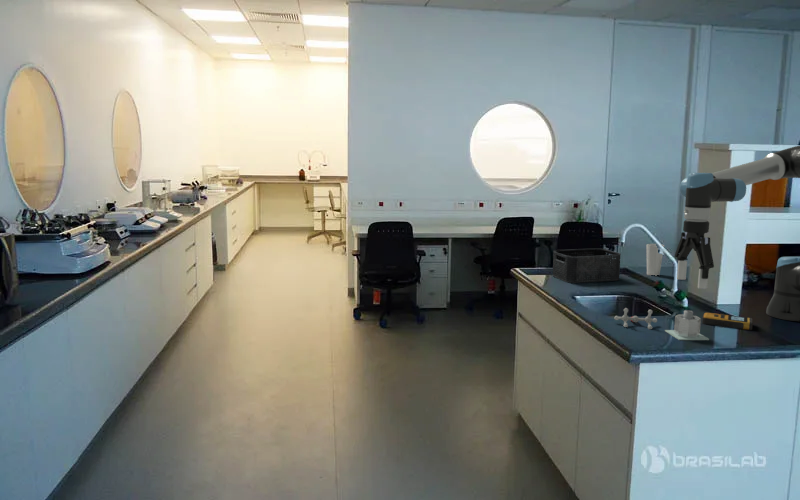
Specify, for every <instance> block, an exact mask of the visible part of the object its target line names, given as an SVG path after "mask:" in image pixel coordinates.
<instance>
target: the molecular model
mask: <svg viewBox="0 0 800 500" xmlns="http://www.w3.org/2000/svg"><path fill="white" fill-rule="evenodd" d="M623 312H624V313H623V315H622V316H619V315H615V316H614V318H613V319H614V321H618V320H622V322H623V324H622V325H623V326H624V327H627V328H628V327H629V325H628V321H630V322H631V321H632V322H631V323H638V322H639V321H640V322H646V324H647V329H648V330H652V329H653V326H652V324H651V323H652V322H653V323H657V322H658V319H657V318H655V317H653V318H652V317H651V316H652V314H653V310H652V309H648V311H647V316H646V317H645V318H644V317H639V316H637V315H633V316H630V317H629V315H628V313H629V308H627V307H625V308H624V309H623ZM623 326H622V327H623ZM624 327H623V328H624Z"/></svg>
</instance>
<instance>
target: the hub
mask: <svg viewBox="0 0 800 500" xmlns="http://www.w3.org/2000/svg"><path fill="white" fill-rule="evenodd" d="M683 316H684V313H679V314H677V315H675V317H674V328H673V330H674V333H675V334H676V335H678V336H682V337H687V338H697V337H698V336H699V335H700V334H701V324H702V318H701V317H699V316H697V315H693V319H686V318H683Z"/></svg>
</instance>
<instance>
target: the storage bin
mask: <svg viewBox="0 0 800 500" xmlns="http://www.w3.org/2000/svg"><path fill="white" fill-rule="evenodd" d="M552 256H553V259H552V260H553V263H552V277H554V278H556V279H559V280H561V281H563V282H566V283H569V284H579V283H583V284H584V283H601V282H602V283H603V282H616V281H620V274H621V273H620V272H621V271H620V270H621V253H620V252H616V251H612V250H609V249H607V248H598V247H597V248H595V247H594V248H578V249H577V248H574V249H557V250H556V249H555V250H553V255H552Z"/></svg>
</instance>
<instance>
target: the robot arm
mask: <svg viewBox="0 0 800 500" xmlns="http://www.w3.org/2000/svg"><path fill="white" fill-rule="evenodd" d="M790 178H791V179H793V178H794V179H800V145H796V146H792V147H788V148H784V149H782V150H778V151H776V152H772V153H768V154H767V155H766V156H764V158H761V159H757V160H754V161H750V162H746V163H743V164H740V165H736V166H733V167H728V168H725V169H722V170H718V171H715V172H689V174H688V175H687V177H685V178H684V179H683V180H681V182H680V185H679V190H680V191H679V192H680V194H681V195H682V196H683V197H685V204H684V210H683V213H684V217H683V218H684V219H685V220H684V221H683V227H682V231H683V232H680V233H681V234H680V240H679V241H678V245H677V248H676V251H675V254H674V258H677V259H676V260H677V270H676V271H677V274H676V275H677V276H676V280H682V281H683V280H685V281H686V279H687V271H688V269H687V267H688V256H689V255H690V253H691V251H692V250H693V251H695V253H696V257H697V259H698V262H699V265H700V266H699V267H698V278H697V289H705V290H706V289H708V284H709V283H708V282H709V271H710V269H713V268H714V267H715V265H714V260H713V259H714V258H713V253H712V252H713V251H712V248H711V237H707V236H705V234H707V233H709V231H710V230H709V229H710V222H709V220H711V219H710V218H711V207H712V203H715V202H724V203H725V202H730V203H733V202H739V201H741V200H743V199H744V197H745V195H747V194H746V193H747V186H749V185H752V184H756V183H760V182H762V181H766V180H774V181H777V180H781V179H790ZM775 268H776V269H775V279H774V290H773V295H772V297H771V299H770V301H769V302H768V305H767V306H766V312H765V313H766V315H767V316H769V317H772V318H774V319H775V318H776V319H780V320H785V321H793V322H800V256H781V257H779V258H778V260H777V264H776V267H775Z"/></svg>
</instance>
